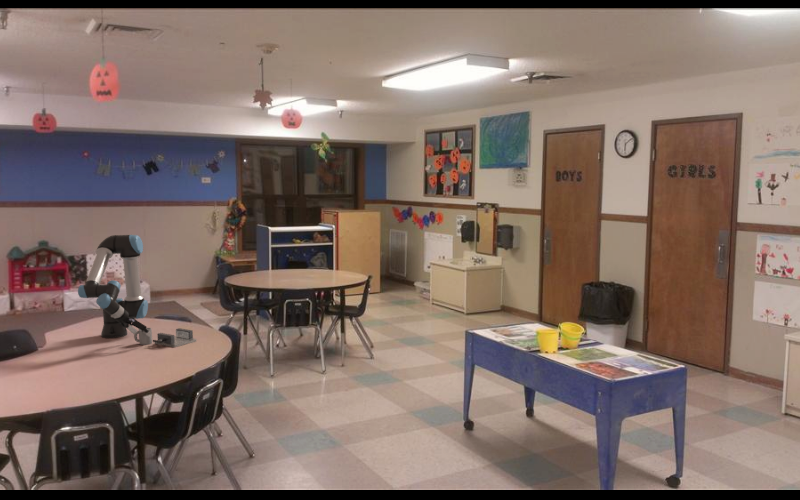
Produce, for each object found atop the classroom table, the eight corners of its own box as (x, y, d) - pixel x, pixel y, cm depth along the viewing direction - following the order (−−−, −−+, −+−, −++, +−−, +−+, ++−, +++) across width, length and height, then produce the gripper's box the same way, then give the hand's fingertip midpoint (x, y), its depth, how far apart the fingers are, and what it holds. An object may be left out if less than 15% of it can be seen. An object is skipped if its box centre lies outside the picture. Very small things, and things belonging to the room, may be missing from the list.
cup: (151, 344, 381) (150, 329, 380) (133, 345, 378) (133, 331, 377) (152, 341, 388) (152, 327, 387) (135, 343, 385) (134, 328, 384)
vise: (146, 345, 378) (146, 335, 378) (176, 337, 397) (176, 327, 396) (167, 349, 369) (166, 338, 368) (196, 341, 388) (196, 330, 387)
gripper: (102, 316, 372) (126, 336, 387) (129, 321, 359) (152, 341, 374) (109, 306, 376) (133, 326, 390) (136, 310, 363) (159, 330, 378)
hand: (142, 333), depth 382 cm, fingers open, 13 cm apart
